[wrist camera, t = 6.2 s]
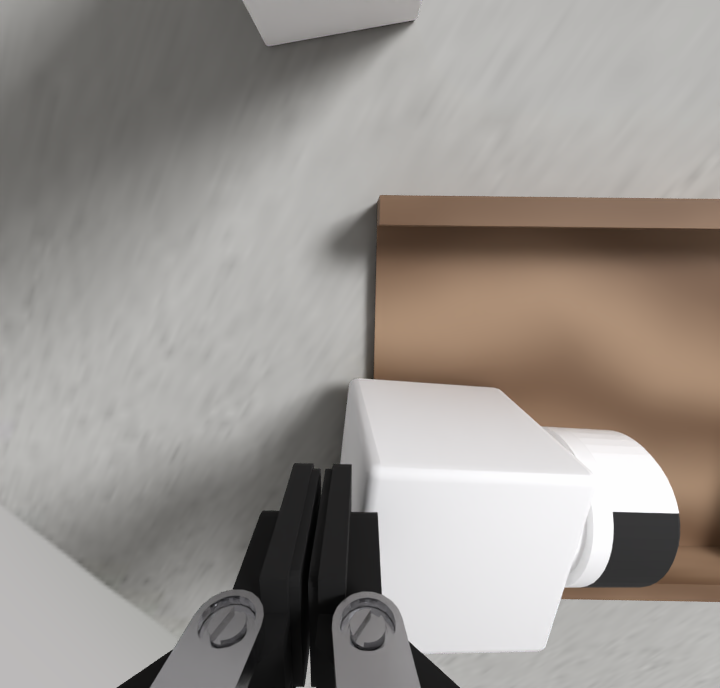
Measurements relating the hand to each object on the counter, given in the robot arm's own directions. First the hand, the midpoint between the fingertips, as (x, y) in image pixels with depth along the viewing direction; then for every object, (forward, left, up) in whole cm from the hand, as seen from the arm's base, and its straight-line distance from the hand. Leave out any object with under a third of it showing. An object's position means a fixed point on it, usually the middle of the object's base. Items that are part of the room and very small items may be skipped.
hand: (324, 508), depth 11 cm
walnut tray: (0, -12, -8) cm, 14 cm away
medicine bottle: (-2, 0, -3) cm, 4 cm away
